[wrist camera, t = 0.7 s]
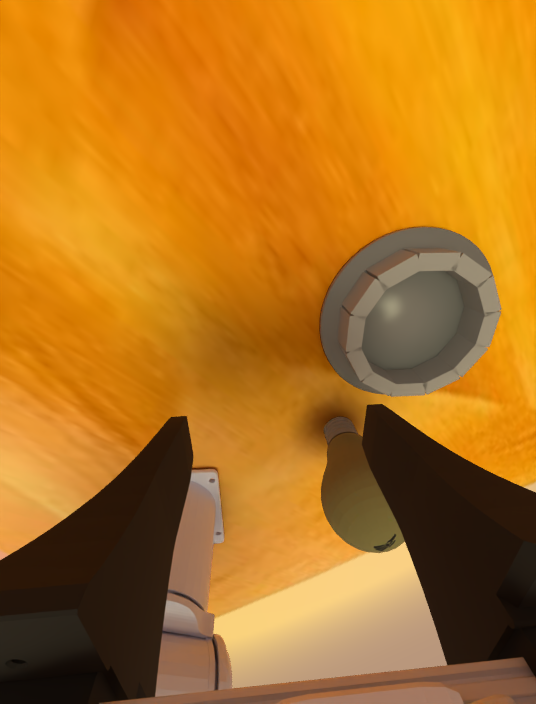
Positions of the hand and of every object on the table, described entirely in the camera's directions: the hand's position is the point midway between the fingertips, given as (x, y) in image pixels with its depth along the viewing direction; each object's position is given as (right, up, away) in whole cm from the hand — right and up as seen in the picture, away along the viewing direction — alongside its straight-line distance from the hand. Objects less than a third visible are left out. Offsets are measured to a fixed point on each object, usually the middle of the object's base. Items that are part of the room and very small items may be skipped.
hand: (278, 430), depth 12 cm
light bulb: (+5, -3, +13) cm, 14 cm away
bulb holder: (+9, +6, +9) cm, 14 cm away
